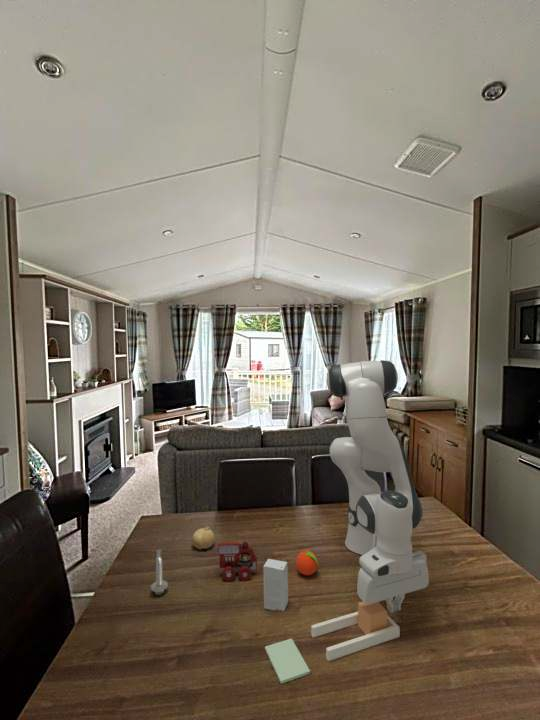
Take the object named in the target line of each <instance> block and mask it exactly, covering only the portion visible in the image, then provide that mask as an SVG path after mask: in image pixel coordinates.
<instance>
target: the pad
mask: <svg viewBox="0 0 540 720" xmlns="http://www.w3.org/2000/svg"><path fill="white" fill-rule="evenodd" d="M264 651H266V654H267V657H268V658H269V660H270V663H271V665H272V668H273V670H274V671H275V674H276V676H277V678H278V680H279V683H280V685H281V684H285V683H287V682H290V681H293V680H295V679H296V680H297V679H299V678H302V677H304V676H307V675H310V674H312V672H311V670H310V669H309V667H308V664H307V662H306V661H305V659H304V658H303V655H302V653H300V650H299V648H298V647H297V644H296V643H295V641H294V640H293V638H292V637H291V638H289V639H286V640H281V641H279V642H275V643H273V644H269V645H266V646H264Z"/></svg>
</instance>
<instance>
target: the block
mask: <svg viewBox="0 0 540 720" xmlns="http://www.w3.org/2000/svg"><path fill="white" fill-rule="evenodd" d="M357 612H358V624H357V627H359V629H360V630H361V631H362V633H363V634H364V635H367V634H370V633H373V632H376V631H379V630H382V629H385V628H387V615H388V609H386V608H385V607H384V606H383V605H382V604H381V603H380V601H379V602H376V603H373V604H370V605H367V604H365V603H364V602H363V601H360V602H358V603H357Z"/></svg>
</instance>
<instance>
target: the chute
mask: <svg viewBox="0 0 540 720" xmlns="http://www.w3.org/2000/svg"><path fill="white" fill-rule="evenodd" d="M354 625H358V611H355V612H352V613H348V614H344V615H341V616H338V617H335V618H331V619H329V620H325V621H322V622H318V623H315V624H312V625H311V626H310V627H311V629H310V631H311V632H310V633H311V634H310V635H311V636H312V638H317V637H320V636H323V635H325V634H329V633H332V632H335V631H338V630H341V629H344V628H347V627H351V626H354ZM400 629H401V628H400V626H399V625H398V624H397V623H396V622H395V621H394V620H393V619H392V618H391V617H390V616H389V615H388V614H387V628H385V629H382V630H379V631H376V632H373V633H370V634H367V635H365V634H364V635H360V636H359V637H355V638H352V639H350V640H349V639H348V640H345V641H343V642H340V643H337V644H334V645H331V646H328V647H326V648H325V658H326V660H327V662H331V661H333V660H336V659H339V658H342V657H344V656H345V657H346V656H347V655H351V654H354V653H356V652H359V651H362V650H365V649H368V648H371V647H375V646H376V645H380V644H383V643H385V642H388V641H391V640H394V639H397V638H400V635H401V633H400V632H401V630H400Z"/></svg>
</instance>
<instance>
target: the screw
mask: <svg viewBox="0 0 540 720" xmlns="http://www.w3.org/2000/svg"><path fill="white" fill-rule="evenodd" d="M155 559H156V560H155V571H156V572H155V581H154V582H153V583H152V584H151V585H150V590H151V591H152V592H154V594H155V595H157V596H160V595H162V594H164V593H165V590H166V589H167V588H168V586H169V583H168V581H166V580H164V579H163V557H162V549H160V548H159V549H156V558H155Z"/></svg>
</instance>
